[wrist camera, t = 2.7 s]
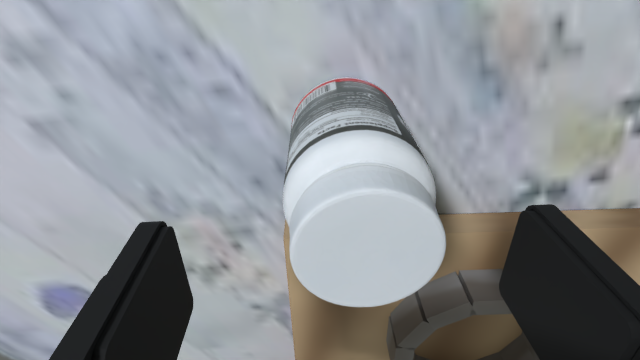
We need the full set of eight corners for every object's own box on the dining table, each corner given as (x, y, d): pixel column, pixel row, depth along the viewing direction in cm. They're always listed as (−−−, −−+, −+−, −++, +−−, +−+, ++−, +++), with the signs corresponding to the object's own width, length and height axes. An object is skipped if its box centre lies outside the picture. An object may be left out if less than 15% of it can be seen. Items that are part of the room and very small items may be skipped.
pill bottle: (391, 173, 18) (445, 319, 11) (293, 173, 18) (281, 321, 11) (403, 74, 15) (485, 177, 8) (289, 73, 15) (270, 178, 8)
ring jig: (671, 207, 19) (738, 253, 16) (579, 367, 26) (613, 419, 23) (285, 219, 19) (280, 268, 16) (299, 376, 26) (298, 430, 23)
